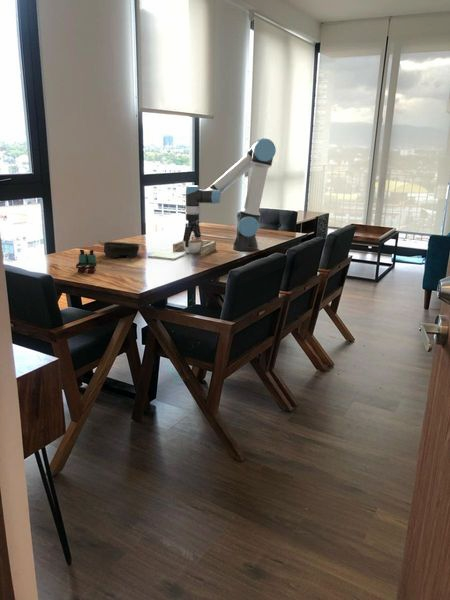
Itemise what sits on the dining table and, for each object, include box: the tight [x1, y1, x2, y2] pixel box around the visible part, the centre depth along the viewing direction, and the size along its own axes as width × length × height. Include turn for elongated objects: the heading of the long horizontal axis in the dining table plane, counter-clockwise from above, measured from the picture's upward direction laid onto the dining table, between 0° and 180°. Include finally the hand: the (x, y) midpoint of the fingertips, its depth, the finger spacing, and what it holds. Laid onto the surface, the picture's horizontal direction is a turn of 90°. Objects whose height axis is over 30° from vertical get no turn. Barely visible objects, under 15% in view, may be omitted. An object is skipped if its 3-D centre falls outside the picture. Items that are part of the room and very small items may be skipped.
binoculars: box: [75, 249, 98, 274], centre depth 235 cm, size 9×11×10 cm
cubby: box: [172, 239, 217, 257], centre depth 291 cm, size 19×20×5 cm
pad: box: [147, 250, 187, 261], centre depth 276 cm, size 16×16×1 cm
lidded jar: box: [183, 235, 202, 254], centre depth 287 cm, size 11×11×9 cm
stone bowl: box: [98, 241, 145, 259], centre depth 273 cm, size 25×25×9 cm
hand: (192, 250), depth 288 cm, fingers open, 12 cm apart
